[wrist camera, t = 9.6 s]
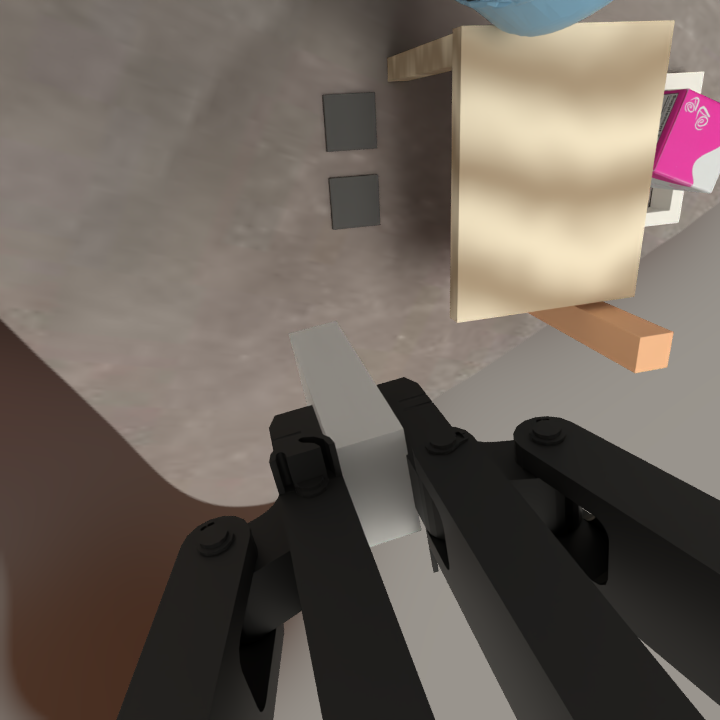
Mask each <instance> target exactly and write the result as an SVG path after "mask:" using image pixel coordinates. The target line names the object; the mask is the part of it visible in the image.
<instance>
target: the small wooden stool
mask: <svg viewBox="0 0 720 720" xmlns="http://www.w3.org/2000/svg"><path fill="white" fill-rule="evenodd" d="M674 22H675V20H674V21H634V22H595V23H575V24H573V25H571V26H569V27H567V28H564V29H562V30H559V31H556V32H553V33H550V34H546V35H541V36H535V37H527V36H519V35H515V34H509V33H506V32H504V31H502V30H500V29H499V28H497V27H496V26H495V25H476V26H460V27H458V28H455V29H453V34H450V35H447V36H445V37H442V38H439V39H437V40H434V41H432V42H429V43H426V44H424V45H421V46H418V47H416V48H413V49H410V50H408V51H405V52H402V53H400V54H397V55H394V56H392V57H389V58H387V67H388V82H394V81H409V80H414V79H418V78H422V77H427V76H431V75H435V74H440V73H444V72H448V71H452V159H451V266H450V318H452V319H453V320H454V321H456V322H457V323H459V322H466V321H473V320H480V319H486V318H493V317H500V316H507V315H513V314H520V313H527V312H534V311H541V310H547V309H554V308H561V307H568V306H574V305H581V304H588V303H595V302H602V301H608V300H615V299H621V298H629V297H634V295H635V288H636V281H637V273H638V267H639V261H640V254H641V247H642V240H643V233H644V226H645V220H646V213H647V206H648V199H649V192H650V186H651V179H652V172H653V165H654V158H655V152H656V145H657V138H658V131H659V124H660V118H661V111H662V104H663V97H664V90H665V83H666V77H667V70H668V63H669V56H670V49H671V43H672V36H673V29H674Z"/></svg>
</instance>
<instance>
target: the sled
mask: <svg viewBox="0 0 720 720" xmlns="http://www.w3.org/2000/svg"><path fill="white" fill-rule="evenodd" d="M703 77H704V72H689V73H668V74H667V77H666V83H665V90H667V91H672V90H680V89H687V88H688V89H691V90H693V91H695V92H697V93H699V94H701V89H702V83H703ZM683 194H684V191H680V190H670V189H660V188H653V190H652V197H651V204H650V207H647V213H646V220H645V226H653V225H662V224H671V223H679V218H680V212H681V206H682V200H683ZM645 226H644V227H645ZM528 313H529V314H531V315H533V316H535V317H536V318H538V319H540V320H542V321H544V322H545V323H547V324H549V325H551V326H552V327H554V328H556V329H558V330H559V331H561V332H563V333H565V334H566V335H568V336H570V337H572V338H574V339H575V340H577V341H579V342H581V343H582V344H584V345H586V346H588V347H589V348H591V349H593V350H595V351H597V352H598V353H600V354H602V355H604V356H605V357H607V358H609V359H611V360H612V361H614V362H616V363H618V364H620V365H621V366H623V367H625V368H627V369H628V370H630V371H632V372H634V373H639V372H644V371H650V370H655V369H661V368H666V367H667V366H668V360H669V355H670V349H671V344H672V338H673V332H672V331H670V330H668V329H665V328H663V327H661V326H658V325H656V324H654V323H651V322H649V321H647V320H644V319H642V318H640V317H637V316H635V315H633V314H630V313H628V312H626V311H623V310H621V309H619V308H616V307H614V306H612V305H610V304H607V303H605V302H603V301H602V302H595V303H588V304H581V305H574V306H568V307H561V308H554V309H547V310H541V311H534V312H528Z"/></svg>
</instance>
